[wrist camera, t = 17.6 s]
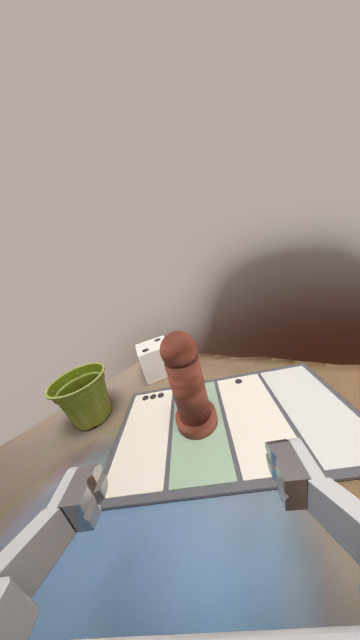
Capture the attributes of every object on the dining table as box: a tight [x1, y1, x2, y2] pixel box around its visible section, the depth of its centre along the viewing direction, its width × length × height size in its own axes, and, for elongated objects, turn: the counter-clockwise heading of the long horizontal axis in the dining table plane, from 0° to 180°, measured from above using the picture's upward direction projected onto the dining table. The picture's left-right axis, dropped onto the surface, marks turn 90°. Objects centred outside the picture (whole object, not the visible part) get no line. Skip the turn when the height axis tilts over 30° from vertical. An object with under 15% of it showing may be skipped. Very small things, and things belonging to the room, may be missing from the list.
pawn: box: [160, 331, 218, 440], centre depth 25 cm, size 6×6×14 cm
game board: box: [100, 363, 360, 511], centre depth 27 cm, size 33×18×1 cm, turn 89°
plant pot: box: [45, 363, 111, 431], centre depth 33 cm, size 9×9×9 cm
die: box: [135, 336, 168, 385], centre depth 42 cm, size 7×7×7 cm
